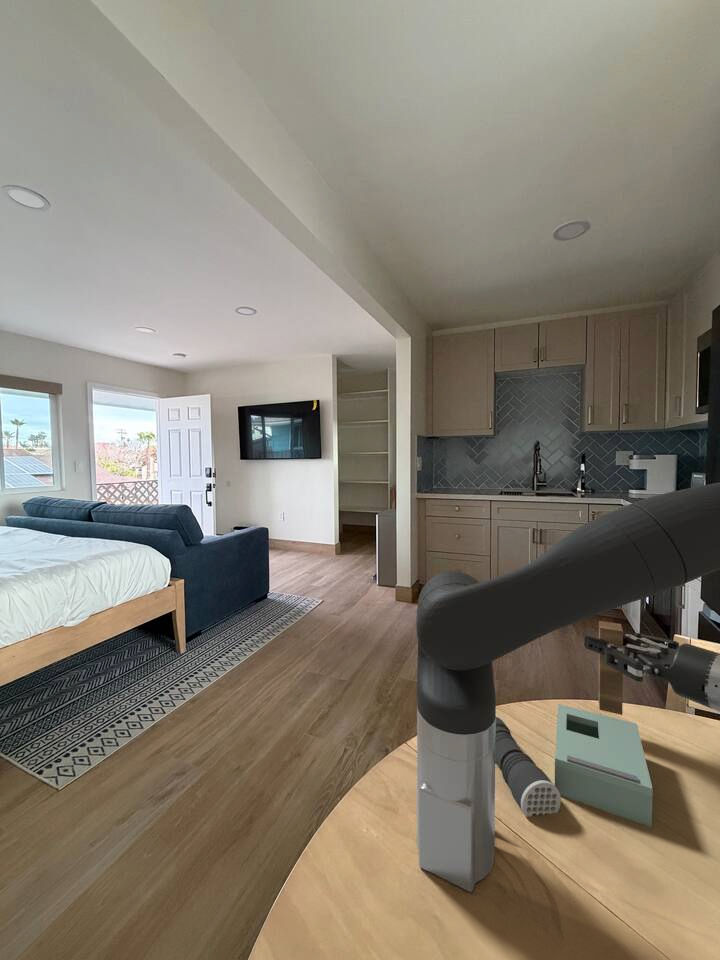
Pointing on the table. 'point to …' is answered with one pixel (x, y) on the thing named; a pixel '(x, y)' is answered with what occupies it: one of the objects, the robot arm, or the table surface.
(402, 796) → the table surface
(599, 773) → the peg-in-hole base
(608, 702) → the wooden peg
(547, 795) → the flashlight
